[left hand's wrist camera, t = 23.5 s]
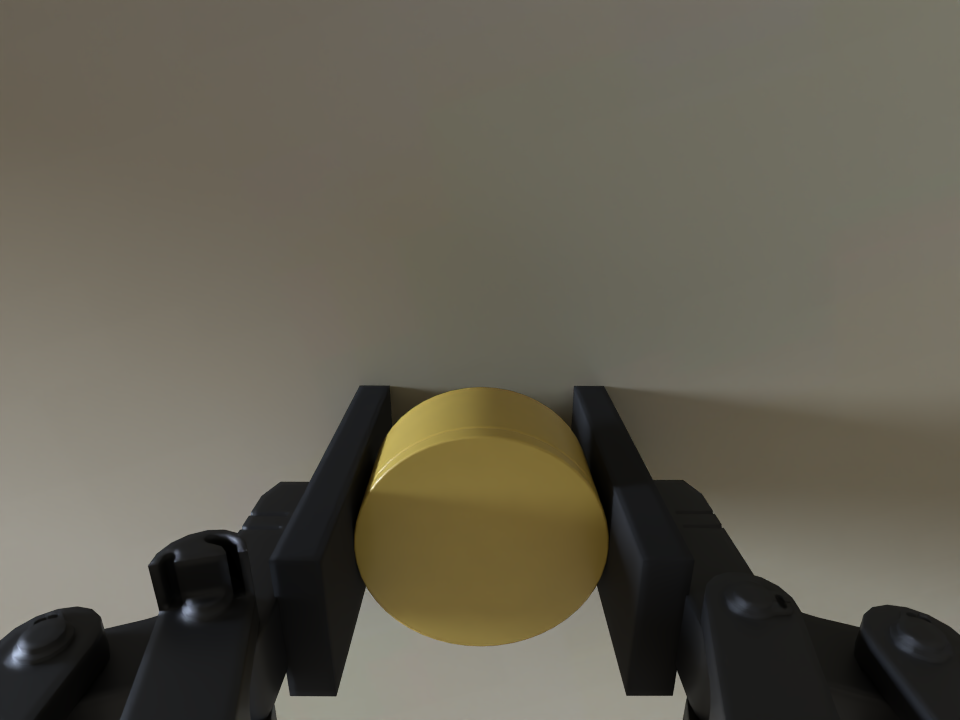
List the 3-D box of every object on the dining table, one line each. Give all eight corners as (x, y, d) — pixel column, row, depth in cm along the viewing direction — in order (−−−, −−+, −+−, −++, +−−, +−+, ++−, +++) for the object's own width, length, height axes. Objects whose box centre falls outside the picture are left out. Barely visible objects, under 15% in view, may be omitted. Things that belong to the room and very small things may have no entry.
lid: (615, 531, 13) (641, 604, 11) (427, 595, 14) (418, 674, 12) (543, 353, 11) (558, 397, 9) (335, 433, 12) (306, 491, 10)
